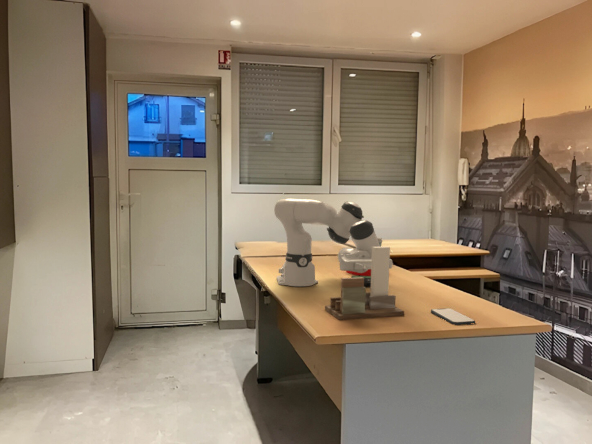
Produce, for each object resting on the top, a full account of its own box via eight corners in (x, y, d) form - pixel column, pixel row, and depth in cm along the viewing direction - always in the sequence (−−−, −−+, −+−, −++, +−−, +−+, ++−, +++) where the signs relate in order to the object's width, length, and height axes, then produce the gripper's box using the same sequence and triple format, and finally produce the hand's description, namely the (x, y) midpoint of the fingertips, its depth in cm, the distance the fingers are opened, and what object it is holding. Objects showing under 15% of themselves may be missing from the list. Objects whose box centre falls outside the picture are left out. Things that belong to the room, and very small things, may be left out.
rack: (324, 309, 173) (325, 293, 172) (385, 305, 180) (386, 290, 180) (339, 319, 160) (339, 302, 159) (404, 315, 167) (404, 298, 167)
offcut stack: (340, 312, 164) (341, 278, 163) (361, 310, 167) (362, 277, 166) (343, 314, 161) (344, 279, 160) (364, 313, 164) (365, 279, 163)
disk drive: (373, 288, 212) (372, 281, 226) (373, 282, 212) (372, 276, 226) (350, 287, 213) (350, 280, 228) (350, 281, 213) (351, 275, 228)
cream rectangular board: (369, 306, 173) (372, 246, 172) (384, 305, 175) (386, 246, 173) (372, 307, 171) (375, 247, 169) (387, 306, 173) (390, 247, 171)
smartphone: (476, 325, 159) (450, 312, 175) (477, 321, 159) (450, 307, 174) (453, 327, 157) (429, 313, 172) (453, 322, 157) (429, 308, 172)
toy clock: (355, 265, 235) (340, 259, 254) (355, 277, 236) (340, 269, 255) (391, 264, 241) (374, 258, 260) (391, 275, 241) (374, 268, 260)
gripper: (382, 268, 192) (399, 274, 179) (336, 270, 187) (350, 276, 173) (383, 253, 192) (400, 257, 179) (336, 254, 186) (350, 259, 173)
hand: (375, 266), depth 176 cm, fingers open, 8 cm apart
